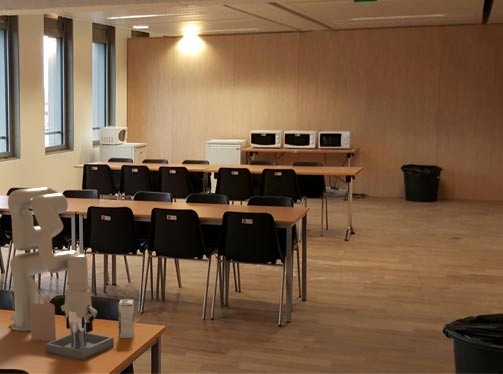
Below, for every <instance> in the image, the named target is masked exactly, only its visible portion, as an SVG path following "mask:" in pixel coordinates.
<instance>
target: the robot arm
mask: <svg viewBox="0 0 503 374" xmlns="http://www.w3.org/2000/svg"><path fill="white" fill-rule="evenodd" d="M7 206H8V211H9V213H10V215H11V229H12V231H11V232H12V244H13V245H12V246H13V248H14V249H15V250H17V251H20V252H21V251H22V252H23V251H29V250H37V251H30V252H25V253H20V254H17V255H15V256H13V257H12V258H11V259H10V262H9V267H10V271H11V275H12V282H13V295H14V296H13V297H14V298H13V299H14V300H13V301H14V314H12V315H11V316H10V318H9V319H10V321H13V324H11V329H12V330H13V331H17V332H27V331H30V332H31V321H30V303H35V304H39V293H38V285H37V281H35V280H34V278H33V277H32V276H34V275H38V274H44V273H47V272H49V273H51V274H55V273H56V274H57V273H60V272H61V273H62V272H67V282H66V285H67V289H66V291H65V298H64V304H62V305H61V306H60V308H61V311H62V314H63V316H64V318H65V322H66V329H67V330H70V328H69V311H72V312H76V316H77V317H80V318H83V317H84V318H85V320H86V321H87V322H86V333H92V331H93V330H94V328H93V322H94V321H95V319H96V318H97V314H98V310H97V309H95V308H94V307H93V306H92V298H91V297H92V296H91V292H90V289H89V276H88V274H89V273H88V257H87V255H86V254H84V253H80V252H78V251H77V250H75V249H74V250H73V249H69V250H65V251H58V252H57V251H56V252H53V241H52V240H53V238H54V237H56V236H57V235H58V234H61V232H62V231H63V229H64V224H63V221H62V219H61V218H60V215H59V214H64V213H65V212H67V210H68V207H69V203H68V199H67V197H66V196H65V194H63V193H61V192H60V191H58V190H55V189H53V188H52V187H49V186H42V187H41V186H40V187H29V188H20V189H17V190H14V191H12V192H10V193H9V195H8V198H7ZM31 210H32V212H33V214H34V217H35V220H36V222H37V224H38V225H34V217H33V214H32V213H31Z"/></svg>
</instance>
